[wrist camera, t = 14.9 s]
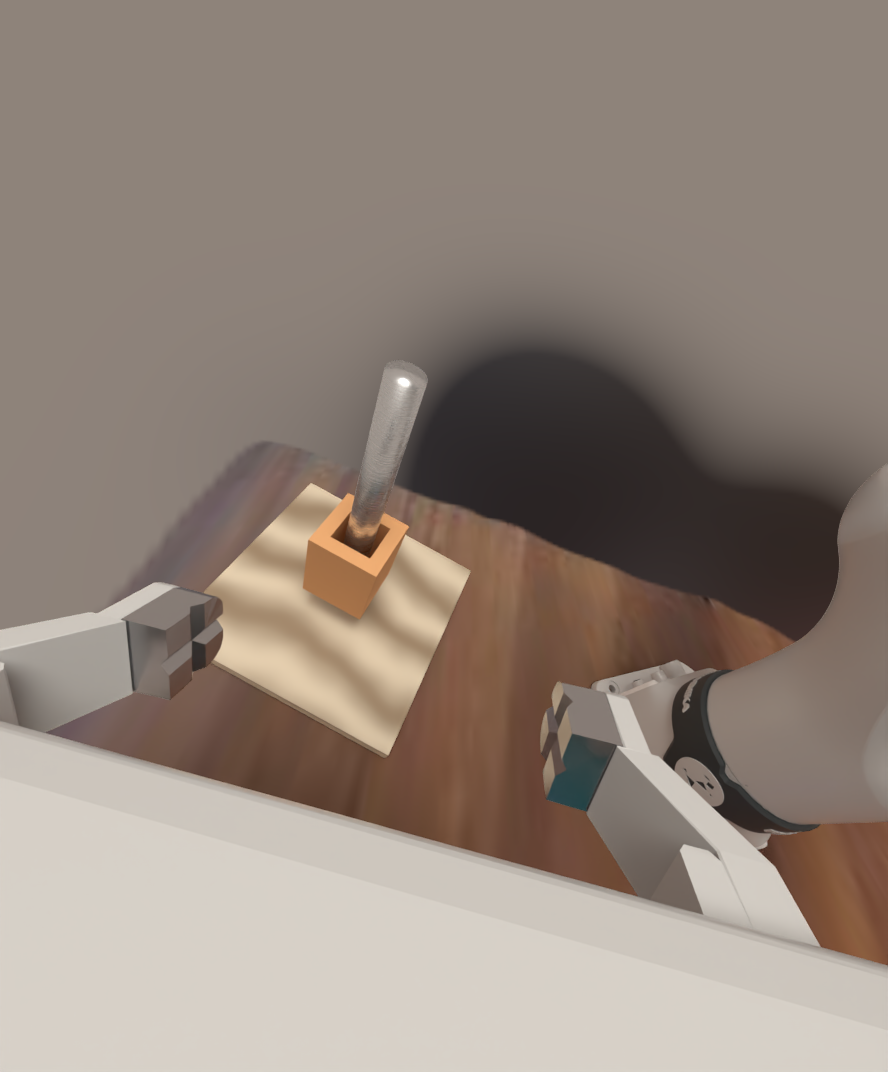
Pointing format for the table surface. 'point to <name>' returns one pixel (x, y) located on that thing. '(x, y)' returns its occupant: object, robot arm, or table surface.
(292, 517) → the pipe stand
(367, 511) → the steel pipe
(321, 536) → the sleeve
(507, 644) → the table surface
